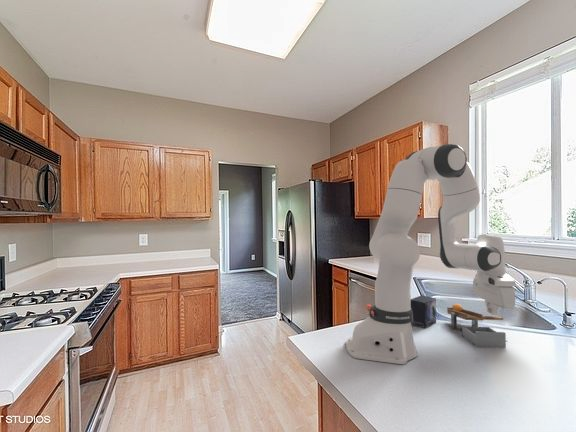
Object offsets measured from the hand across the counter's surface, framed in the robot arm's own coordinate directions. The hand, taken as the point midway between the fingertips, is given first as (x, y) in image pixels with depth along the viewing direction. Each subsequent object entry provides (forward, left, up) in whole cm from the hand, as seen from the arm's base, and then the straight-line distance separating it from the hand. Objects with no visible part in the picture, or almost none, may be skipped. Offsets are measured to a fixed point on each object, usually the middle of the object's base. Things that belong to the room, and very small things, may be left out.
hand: (492, 313), depth 106 cm
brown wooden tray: (-4, +4, -3) cm, 6 cm away
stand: (-8, +4, -7) cm, 12 cm away
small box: (-22, +8, -8) cm, 25 cm away
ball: (-8, +9, -1) cm, 13 cm away
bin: (-8, -8, -7) cm, 14 cm away
